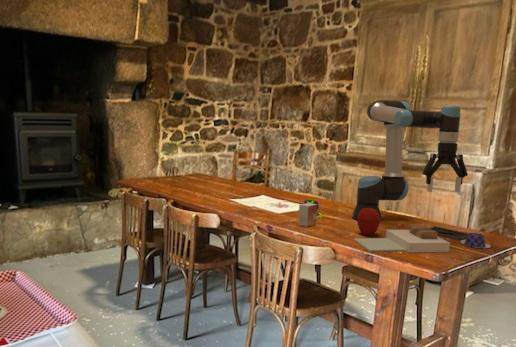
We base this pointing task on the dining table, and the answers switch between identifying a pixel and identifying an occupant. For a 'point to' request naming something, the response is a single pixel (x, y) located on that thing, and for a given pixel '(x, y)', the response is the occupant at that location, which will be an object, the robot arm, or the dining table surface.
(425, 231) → the walnut block
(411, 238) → the cream flat block
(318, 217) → the toy cauldron
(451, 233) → the picture frame
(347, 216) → the dining table surface
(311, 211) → the small box
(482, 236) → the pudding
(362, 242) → the mat
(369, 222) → the dark red rounded piece
